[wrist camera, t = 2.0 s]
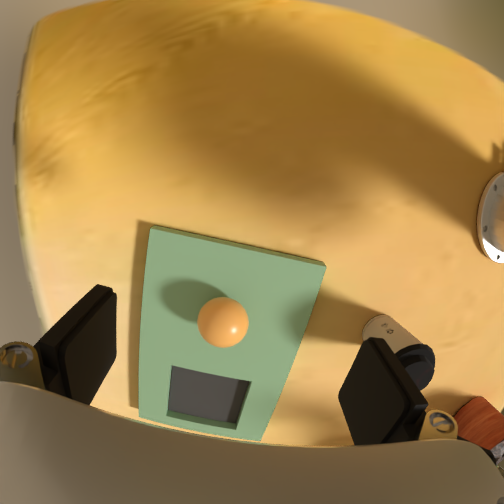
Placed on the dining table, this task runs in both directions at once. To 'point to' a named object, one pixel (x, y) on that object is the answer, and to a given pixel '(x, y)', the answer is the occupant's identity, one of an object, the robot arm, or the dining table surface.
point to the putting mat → (206, 355)
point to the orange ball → (222, 322)
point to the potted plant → (482, 426)
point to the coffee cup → (404, 348)
